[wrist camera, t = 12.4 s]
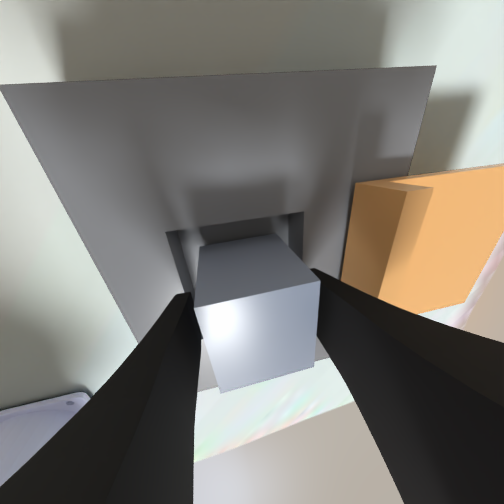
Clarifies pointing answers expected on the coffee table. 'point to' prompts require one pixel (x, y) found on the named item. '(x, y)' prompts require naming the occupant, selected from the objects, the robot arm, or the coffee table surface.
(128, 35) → the coffee table surface
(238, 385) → the grey rectangular block
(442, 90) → the coffee table surface
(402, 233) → the panel
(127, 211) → the socket base
